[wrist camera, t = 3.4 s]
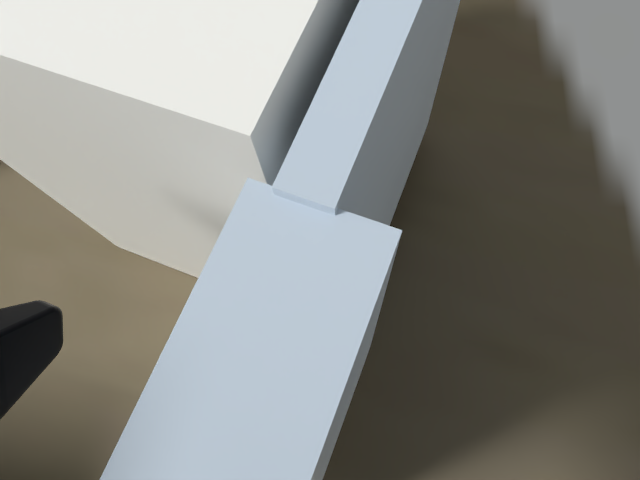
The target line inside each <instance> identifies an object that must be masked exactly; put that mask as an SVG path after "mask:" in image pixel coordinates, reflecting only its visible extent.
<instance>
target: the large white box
mask: <svg viewBox="0 0 640 480" xmlns="http://www.w3.org/2000/svg"><path fill="white" fill-rule="evenodd" d="M358 3H359V0H0V160H2V161H3V162H4V163H6V164H7V165H9V166H10V167H11V168H13V169H14V170H15V171H17V172H18V173H19V174H21V175H22V176H23V177H25V178H26V179H27V180H29V181H30V182H31V183H33V184H34V185H35V186H37V187H38V188H39V189H41V190H42V191H43V192H45V193H46V194H47V195H49V196H50V197H52V198H53V199H54V200H56V201H57V202H58V203H60V204H61V205H62V206H64V207H65V208H66V209H68V210H69V211H70V212H72V213H73V214H74V215H76V216H77V217H78V218H80V219H81V220H82V221H84V222H85V223H86V224H88V225H89V226H90V227H92V228H93V229H95V230H96V231H97V232H99V233H100V234H101V235H103V236H104V237H105V238H107V239H108V240H109V241H111V242H112V243H113V244H115V245H116V246H117V247H120V248H122V249H125V250H127V251H130V252H133V253H135V254H138V255H140V256H143V257H145V258H148V259H151V260H153V261H156V262H158V263H161V264H163V265H166V266H169V267H171V268H174V269H176V270H179V271H181V272H184V273H187V274H189V275H192V276H194V277H197V278H199V276H200V274H201V272H202V270H203V268H204V266H205V264H206V262H207V260H208V258H209V256H210V254H211V252H212V249H213V247H214V245H215V243H216V241H217V239H218V237H219V235H220V233H221V231H222V229H223V227H224V225H225V223H226V221H227V219H228V217H229V215H230V213H231V211H232V209H233V207H234V205H235V203H236V201H237V199H238V196H239V194H240V192H241V190H242V188H243V186H244V184H245V182H246V180H247V178H251V179H254V180H257V181H259V182H262V183H265V184H268V185H271V186H272V185H273V183H274V181H275V179H276V177H277V175H278V173H279V170H280V168H281V166H282V164H283V162H284V160H285V158H286V156H287V153H288V151H289V149H290V147H291V145H292V143H293V141H294V139H295V136H296V134H297V132H298V130H299V128H300V126H301V124H302V122H303V119H304V117H305V115H306V113H307V111H308V109H309V107H310V105H311V102H312V100H313V98H314V96H315V94H316V92H317V90H318V88H319V85H320V83H321V81H322V79H323V77H324V75H325V73H326V71H327V68H328V66H329V64H330V62H331V60H332V58H333V56H334V54H335V51H336V49H337V47H338V45H339V43H340V41H341V39H342V37H343V34H344V32H345V30H346V28H347V26H348V24H349V22H350V20H351V17H352V15H353V13H354V11H355V9H356V7H357V5H358Z"/></svg>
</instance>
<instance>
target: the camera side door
mask: <svg viewBox="0 0 640 480" xmlns="http://www.w3.org/2000/svg"><path fill="white" fill-rule="evenodd" d="M459 3H460V0H359V3H358V5H357V7H356V9H355V11H354V13H353V15H352V17H351V20H350V22H349V24H348V26H347V28H346V30H345V32H344V34H343V37H342V39H341V41H340V43H339V45H338V47H337V49H336V51H335V54H334V56H333V58H332V60H331V62H330V64H329V66H328V68H327V71H326V73H325V75H324V77H323V79H322V81H321V83H320V85H319V88H318V90H317V92H316V94H315V96H314V98H313V100H312V102H311V105H310V107H309V109H308V111H307V113H306V115H305V117H304V119H303V122H302V124H301V126H300V128H299V130H298V132H297V134H296V136H295V139H294V141H293V143H292V145H291V147H290V149H289V151H288V153H287V156H286V158H285V160H284V162H283V164H282V166H281V168H280V170H279V173H278V175H277V177H276V179H275V181H274V183H273V185H272V186H271V185H268V184H265V183H262V182H259V181H257V180H254V179H251V178H247V180H246V182H245V184H244V186H243V188H242V190H241V192H240V194H239V196H238V199H237V201H236V203H235V205H234V207H233V209H232V211H231V213H230V215H229V217H228V219H227V221H226V223H225V225H224V227H223V229H222V231H221V233H220V235H219V237H218V239H217V241H216V243H215V245H214V247H213V249H212V252H211V254H210V256H209V258H208V260H207V262H206V264H205V266H204V268H203V270H202V272H201V274H200V276H199V278H198V280H197V282H196V284H195V286H194V288H193V290H192V292H191V294H190V296H189V298H188V300H187V302H186V304H185V307H184V309H183V311H182V313H181V315H180V317H179V319H178V321H177V323H176V325H175V327H174V329H173V331H172V333H171V335H170V337H169V339H168V341H167V343H166V345H165V347H164V349H163V351H162V353H161V355H160V357H159V360H158V362H157V364H156V366H155V368H154V370H153V372H152V374H151V376H150V378H149V380H148V382H147V384H146V386H145V388H144V390H143V392H142V394H141V396H140V398H139V400H138V402H137V404H136V406H135V408H134V410H133V413H132V415H131V417H130V419H129V421H128V423H127V425H126V427H125V429H124V431H123V433H122V435H121V437H120V439H119V441H118V443H117V445H116V447H115V449H114V451H113V453H112V455H111V457H110V459H109V461H108V463H107V465H106V468H105V470H104V472H103V474H102V476H101V478H100V480H323V477H324V474H325V472H326V469H327V466H328V463H329V461H330V458H331V455H332V452H333V449H334V447H335V444H336V441H337V438H338V435H339V433H340V430H341V427H342V424H343V422H344V419H345V416H346V413H347V410H348V408H349V405H350V402H351V399H352V397H353V394H354V391H355V388H356V385H357V383H358V380H359V377H360V374H361V372H362V369H363V366H364V363H365V360H366V358H367V355H368V352H369V349H370V346H371V342H372V339H373V335H374V332H375V328H376V324H377V321H378V317H379V313H380V310H381V306H382V303H383V299H384V295H385V292H386V288H387V284H388V281H389V277H390V273H391V270H392V266H393V263H394V259H395V255H396V252H397V248H398V244H399V241H400V237H401V233H402V230H400V229H397V228H394V227H391V226H390V223H391V221H392V218H393V215H394V213H395V210H396V207H397V205H398V202H399V199H400V197H401V194H402V191H403V189H404V186H405V183H406V181H407V178H408V176H409V173H410V170H411V168H412V165H413V162H414V160H415V157H416V154H417V152H418V149H419V146H420V144H421V141H422V138H423V136H424V133H425V130H426V128H427V125H428V121H429V118H430V114H431V110H432V106H433V102H434V99H435V95H436V91H437V87H438V83H439V79H440V76H441V72H442V68H443V64H444V60H445V57H446V53H447V49H448V45H449V41H450V37H451V34H452V30H453V26H454V22H455V18H456V15H457V11H458V7H459Z"/></svg>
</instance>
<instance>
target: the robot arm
mask: <svg viewBox="0 0 640 480" xmlns="http://www.w3.org/2000/svg"><path fill="white" fill-rule="evenodd" d="M62 345H63V316H62V311H61V310H60V308H58V307H57V306H54V305H52V304H50V303H47V302H45V301H40V300H39V301H33V302H28V303H24V304H19V305H15V306H11V307H6V308H2V309H0V419H1V418H2V417H3V416H4V415H5V414H6V413H7V411H8V410H9V409H10V408H11V407H12V406H13V405H14V404H15V402H16V401H17V400H18V399H19V398H20V397H21V396H22V394H23V393H24V392H25V391H26V390H27V389H28V388H29V387H30V385H31V384H32V383H33V382H34V381H35V380H36V379H37V377H38V376H39V375H40V374H41V373H42V372H43V371H44V369H45V368H46V367H47V366H48V365H49V364H50V363H51V362H52V360H53V359H54V358H55V357H56V356H57V354H58V353H59V351H60V350H61V347H62Z"/></svg>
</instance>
